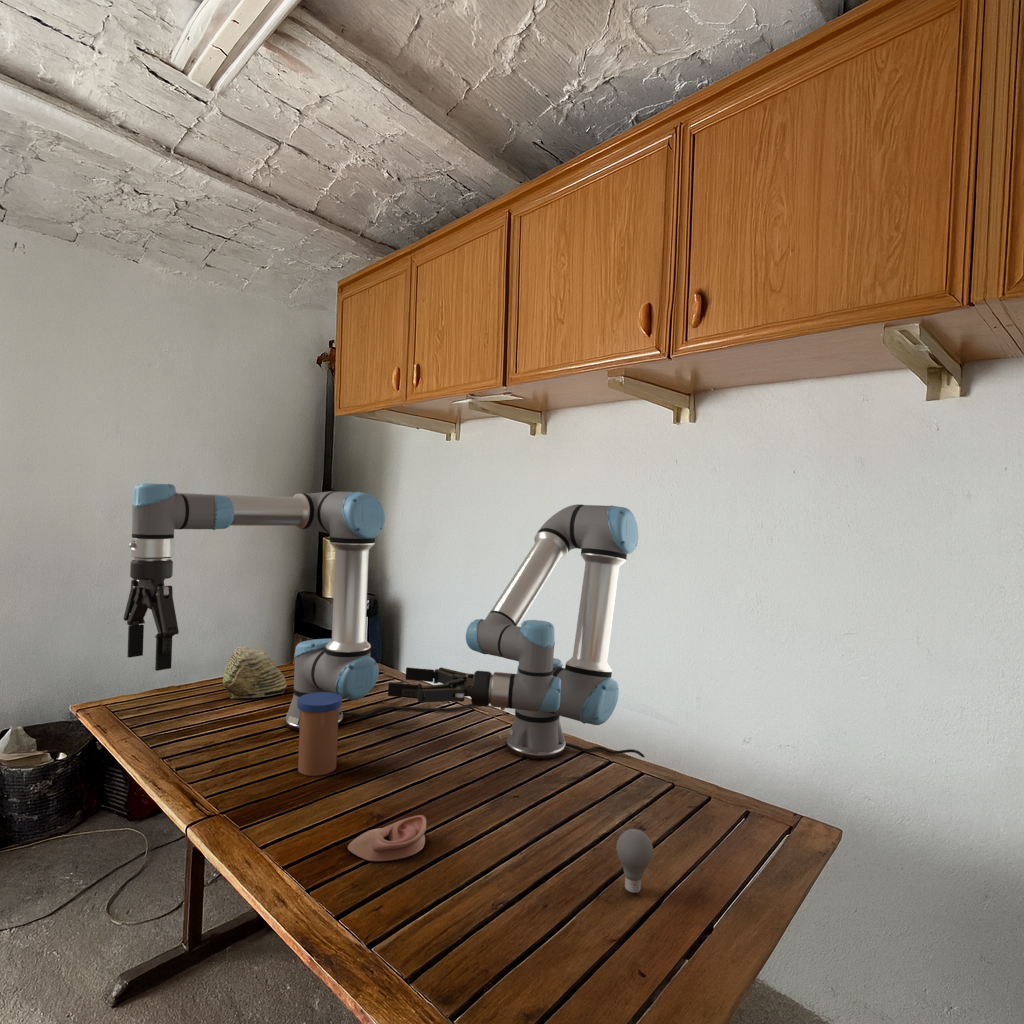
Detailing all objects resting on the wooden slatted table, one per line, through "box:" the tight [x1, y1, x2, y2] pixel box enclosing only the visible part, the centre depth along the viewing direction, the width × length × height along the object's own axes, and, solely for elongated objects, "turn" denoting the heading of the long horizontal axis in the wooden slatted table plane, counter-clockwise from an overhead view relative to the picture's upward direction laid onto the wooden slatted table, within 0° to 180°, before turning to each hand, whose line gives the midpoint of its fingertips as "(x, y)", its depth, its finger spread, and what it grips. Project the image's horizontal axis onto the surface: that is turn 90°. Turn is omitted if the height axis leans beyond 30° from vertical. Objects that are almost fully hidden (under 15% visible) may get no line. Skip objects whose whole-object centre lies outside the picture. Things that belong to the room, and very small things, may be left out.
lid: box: [297, 692, 343, 712], centre depth 147 cm, size 10×10×2 cm
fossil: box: [222, 646, 288, 699], centre depth 198 cm, size 9×18×15 cm, turn 132°
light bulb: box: [615, 828, 654, 894], centre depth 106 cm, size 6×6×10 cm
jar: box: [297, 708, 339, 777], centre depth 148 cm, size 9×9×16 cm
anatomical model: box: [347, 814, 427, 862], centre depth 116 cm, size 13×4×12 cm
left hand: (148, 662), depth 129 cm, fingers open, 13 cm apart
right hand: (397, 680), depth 143 cm, fingers open, 13 cm apart
